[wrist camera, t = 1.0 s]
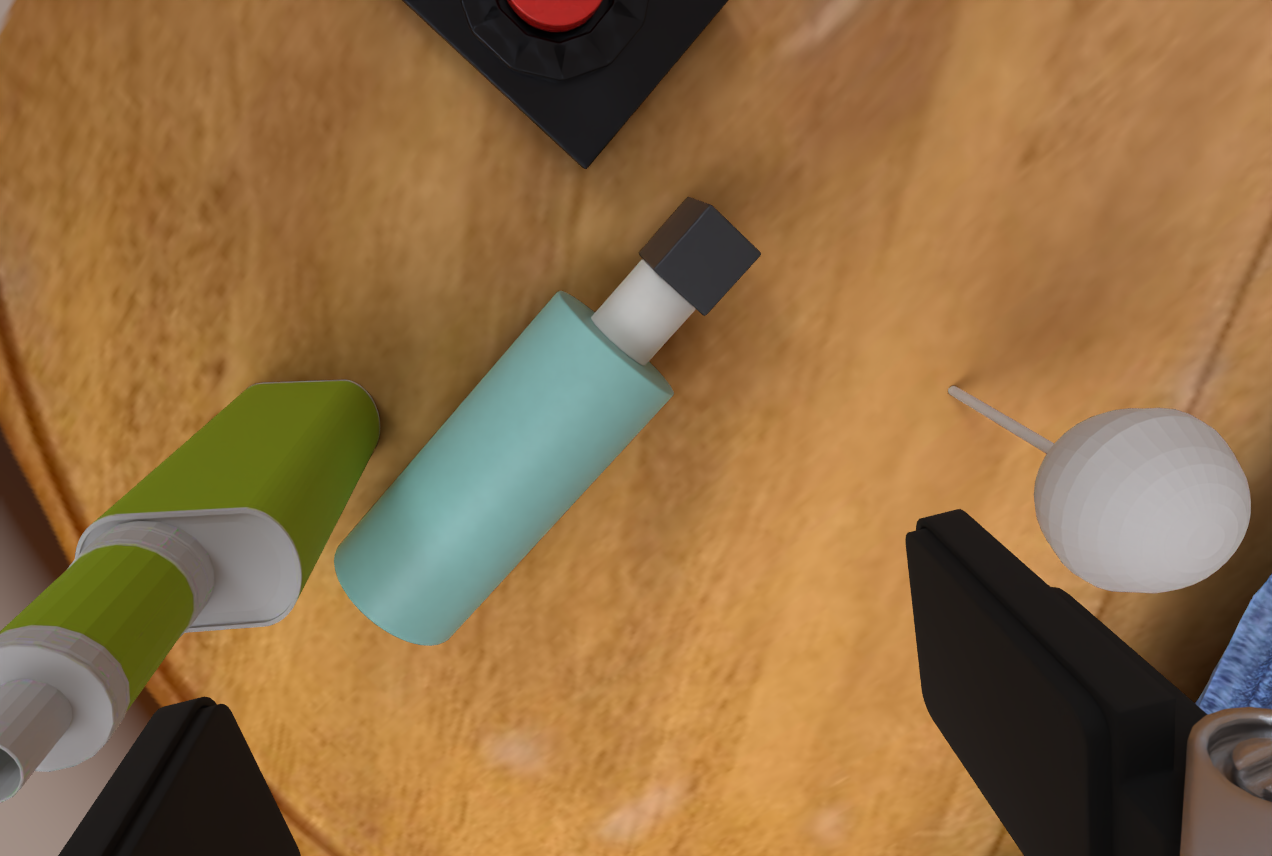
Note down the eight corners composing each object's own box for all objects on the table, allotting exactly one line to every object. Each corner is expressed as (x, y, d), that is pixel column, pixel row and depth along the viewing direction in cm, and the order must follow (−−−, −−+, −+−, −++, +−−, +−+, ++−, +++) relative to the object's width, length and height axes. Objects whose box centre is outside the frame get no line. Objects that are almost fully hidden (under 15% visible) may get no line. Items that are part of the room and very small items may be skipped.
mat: (1162, 302, 40) (1462, 360, 30) (1415, 385, 52) (1686, 446, 42) (868, 1012, 50) (1017, 1230, 40) (1137, 940, 62) (1302, 1094, 52)
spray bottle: (350, 518, 36) (654, 164, 32) (459, 591, 38) (757, 264, 34) (317, 588, 30) (679, 170, 27) (447, 671, 32) (801, 289, 29)
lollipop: (1001, 451, 39) (1269, 629, 25) (883, 455, 38) (1090, 640, 24) (1025, 323, 37) (1331, 438, 23) (900, 324, 36) (1137, 443, 22)
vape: (224, 384, 33) (-174, 700, 15) (374, 377, 34) (179, 672, 15) (240, 468, 34) (-108, 858, 16) (385, 460, 35) (216, 827, 16)
